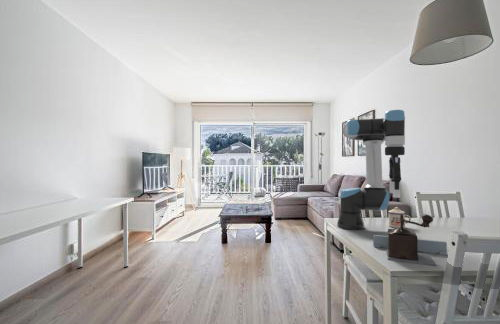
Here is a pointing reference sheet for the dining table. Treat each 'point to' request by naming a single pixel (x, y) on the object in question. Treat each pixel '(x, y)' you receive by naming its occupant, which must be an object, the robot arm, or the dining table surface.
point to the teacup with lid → (396, 218)
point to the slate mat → (422, 259)
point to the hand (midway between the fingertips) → (394, 195)
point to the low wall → (422, 244)
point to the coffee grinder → (405, 240)
